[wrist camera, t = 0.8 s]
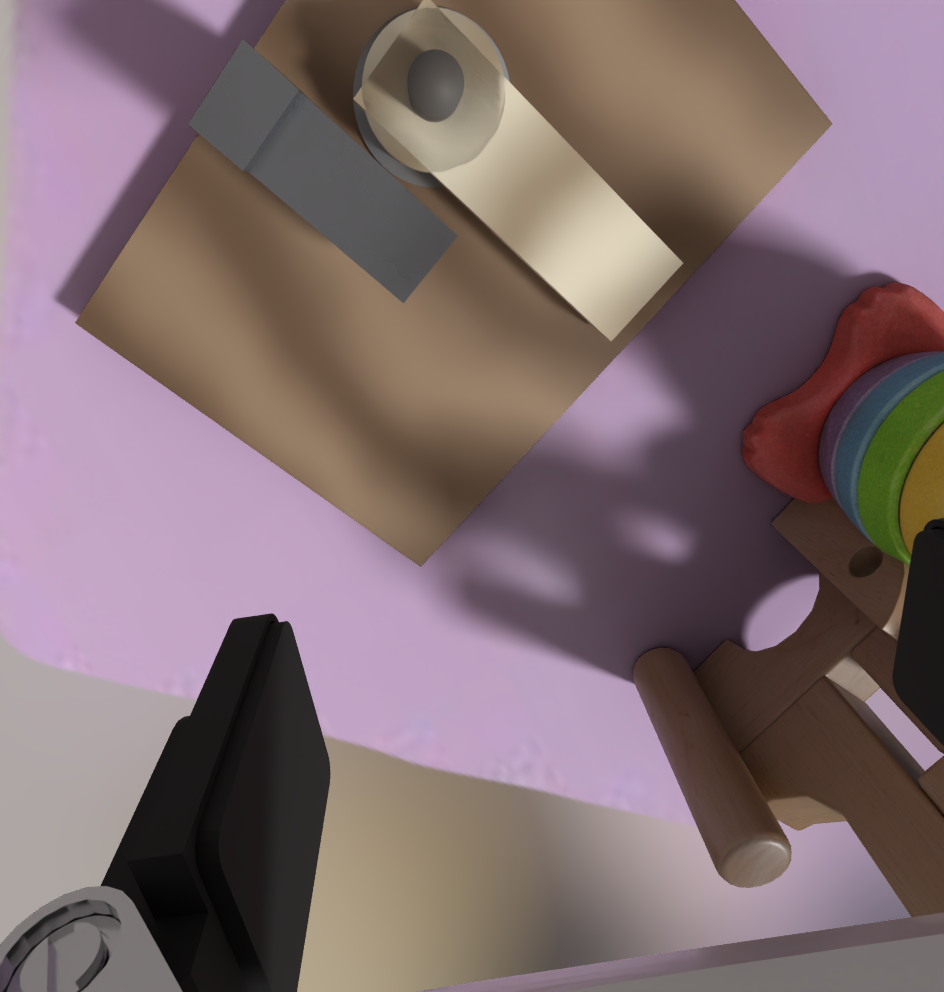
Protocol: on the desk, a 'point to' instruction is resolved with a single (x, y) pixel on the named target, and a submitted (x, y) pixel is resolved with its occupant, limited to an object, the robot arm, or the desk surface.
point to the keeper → (320, 172)
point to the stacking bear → (866, 421)
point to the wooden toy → (806, 726)
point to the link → (508, 165)
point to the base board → (461, 269)
